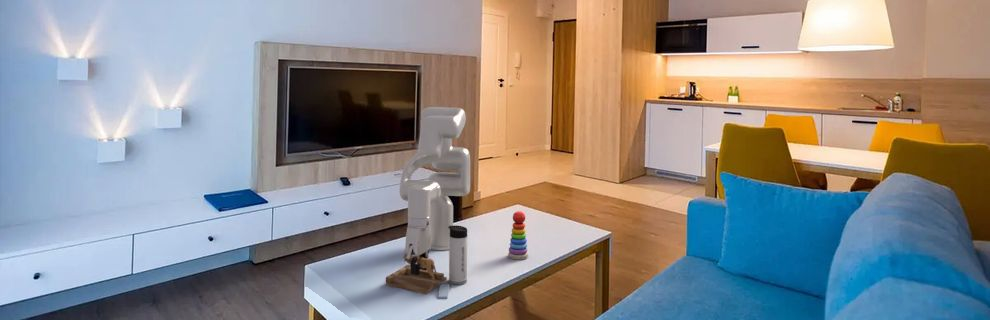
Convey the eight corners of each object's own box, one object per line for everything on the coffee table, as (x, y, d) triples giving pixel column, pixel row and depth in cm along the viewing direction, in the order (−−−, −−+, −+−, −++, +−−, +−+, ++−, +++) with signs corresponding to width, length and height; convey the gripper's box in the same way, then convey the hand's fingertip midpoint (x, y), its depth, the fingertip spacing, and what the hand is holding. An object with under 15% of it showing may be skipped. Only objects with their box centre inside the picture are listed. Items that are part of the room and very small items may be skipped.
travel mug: (449, 277, 191) (449, 223, 188) (467, 278, 191) (468, 224, 187) (447, 284, 185) (447, 228, 181) (466, 285, 184) (466, 229, 181)
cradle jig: (408, 272, 195) (408, 264, 195) (446, 279, 189) (446, 271, 188) (385, 285, 183) (385, 277, 182) (426, 294, 176) (426, 285, 176)
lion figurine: (400, 275, 185) (400, 250, 183) (409, 269, 190) (408, 245, 188) (437, 282, 179) (437, 256, 177) (445, 276, 184) (445, 251, 182)
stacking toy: (531, 258, 213) (533, 212, 210) (515, 261, 209) (517, 215, 206) (520, 252, 220) (521, 208, 217) (504, 255, 215) (505, 210, 212)
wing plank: (440, 287, 183) (440, 284, 183) (449, 287, 183) (449, 284, 183) (438, 300, 173) (438, 296, 173) (447, 300, 173) (447, 296, 173)
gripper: (422, 214, 191) (422, 262, 194) (395, 226, 176) (396, 278, 179) (440, 216, 188) (440, 266, 191) (415, 229, 173) (415, 282, 176)
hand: (419, 271), depth 185 cm, fingers closed on lion figurine, 4 cm apart
